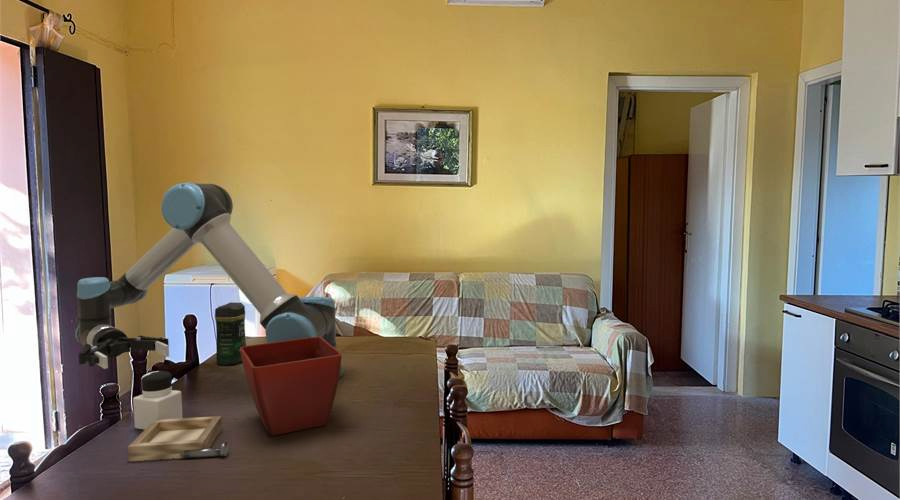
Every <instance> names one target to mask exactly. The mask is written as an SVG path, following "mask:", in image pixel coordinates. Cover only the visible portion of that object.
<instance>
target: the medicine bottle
mask: <svg viewBox="0 0 900 500" xmlns="http://www.w3.org/2000/svg"><path fill="white" fill-rule="evenodd" d="M140 380H141V391H142V392H141V393H142V394H139V395H138V396H137V395H136V396H134V397H133V398H132V404H133V405H132V406H133V416H134V417H133V419H134V429H138V430H143V431H144V430H145V429H146V428H147V427H148V426H149V425H150V424H151V423H152V422H153V421H154V420H160V419H177V418H184V417H183V400H182V397H183V396H182V391H180V390H173V383H172V373H171V372H169V371H165V370H157V371H156V370H155V371H151V372H148V373H146V374H143V376H142V377H141V379H140Z"/></svg>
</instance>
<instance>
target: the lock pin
mask: <svg viewBox="0 0 900 500" xmlns="http://www.w3.org/2000/svg"><path fill="white" fill-rule="evenodd" d="M228 454H229V443H228V441H226V442H225V441H224V442H221V443H220V446H219V447H210V448H207V449H196V450H183V451H182V452H181V453H180V456H181V457H182V458H181V459H195V458H210V457H211V458H213V457H227V456H228Z"/></svg>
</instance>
